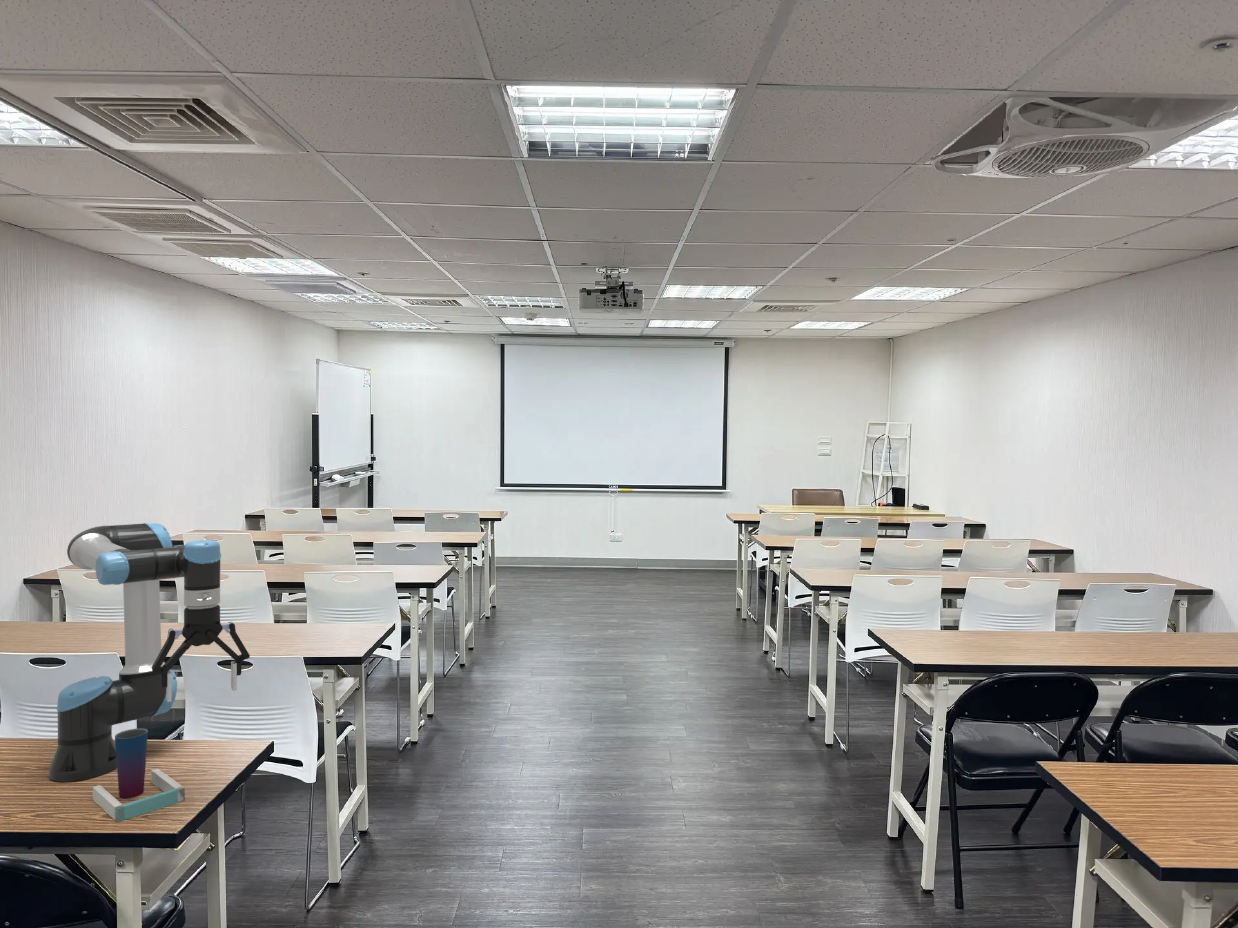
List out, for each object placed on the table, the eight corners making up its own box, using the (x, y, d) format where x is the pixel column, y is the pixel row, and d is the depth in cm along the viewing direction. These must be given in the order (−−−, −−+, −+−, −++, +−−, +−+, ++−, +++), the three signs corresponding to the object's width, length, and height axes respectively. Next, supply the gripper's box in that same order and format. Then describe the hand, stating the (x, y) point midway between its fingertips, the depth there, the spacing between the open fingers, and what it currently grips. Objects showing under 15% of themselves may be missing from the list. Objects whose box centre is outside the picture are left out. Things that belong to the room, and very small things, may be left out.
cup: (131, 801, 175) (131, 739, 175) (107, 798, 177) (107, 737, 177) (154, 789, 182) (154, 729, 182) (131, 786, 183) (131, 727, 183)
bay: (92, 799, 176) (92, 786, 176) (157, 779, 187) (157, 768, 187) (117, 822, 165) (117, 808, 165) (184, 800, 176) (184, 787, 176)
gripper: (141, 615, 163) (141, 709, 163) (262, 602, 178) (262, 688, 178) (138, 609, 169) (138, 700, 169) (256, 597, 184) (255, 681, 184)
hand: (202, 694), depth 174 cm, fingers open, 13 cm apart
